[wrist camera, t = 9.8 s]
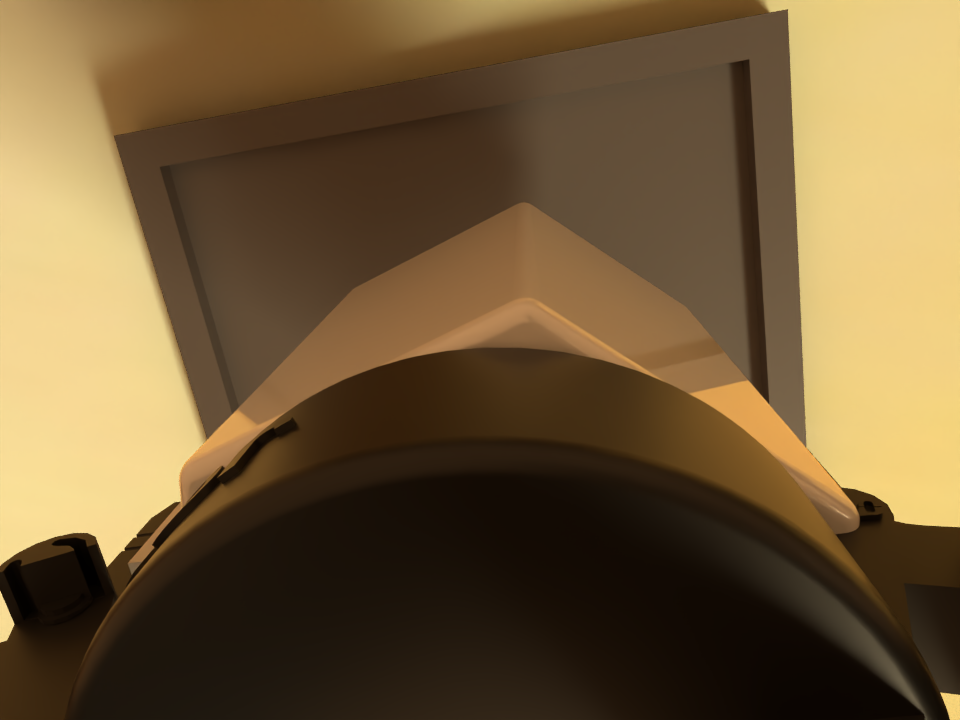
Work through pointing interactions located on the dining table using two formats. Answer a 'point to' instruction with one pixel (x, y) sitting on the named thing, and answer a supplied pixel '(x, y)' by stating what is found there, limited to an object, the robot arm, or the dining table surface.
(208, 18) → the dining table surface
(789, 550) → the jar
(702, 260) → the tray
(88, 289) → the dining table surface
